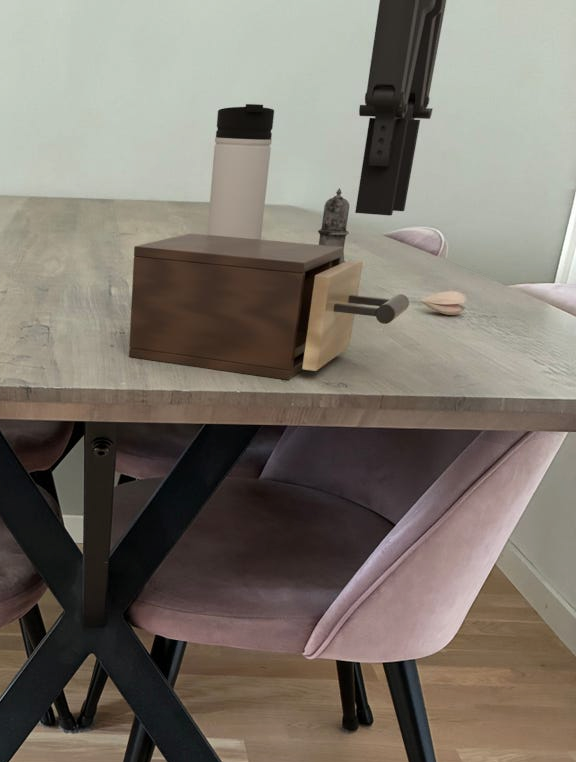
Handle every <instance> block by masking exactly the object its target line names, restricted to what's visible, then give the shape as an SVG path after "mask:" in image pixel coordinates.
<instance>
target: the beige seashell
mask: <svg viewBox="0 0 576 762" xmlns="http://www.w3.org/2000/svg"><path fill="white" fill-rule="evenodd" d="M419 302H420V303H422V304H423V305H425V306H426V307H428V308H429V309H431V310H432V311H435V312H437V313H439V314H442V315H447V316H456V315H460V314H461V313H462V312H464V311H465V309H466V307H465V306H463V305H462V304H463V303H466V302H468V299H467V297H466V295H465V294H464V293H462V292H460V291H456V290H447V291H441V292H437V293H434V294H431V295H428V296H425V297H423V298H421V299H420V300H419Z"/></svg>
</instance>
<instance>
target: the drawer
mask: <svg viewBox="0 0 576 762" xmlns="http://www.w3.org/2000/svg"><path fill="white" fill-rule="evenodd" d="M363 264H364V261H363V260H359V259H348V260H346V261H345V262H344V263H342V264H339V265H337V266H335V267H333V268H332V261H330V262H328V263H326V264H323V265H321V266H319V267H316V268H314V269H311V270H309V271H307V272H304V273H305V280H304V287H303V295H302V302H301V310H300V317H299V325H298V333H297V340H296V348H295V355H294V358H296V357H297V356H299V355H300V354H302V353H303V352H304V359H303V366H302V369H303V370H305V371H312V372H317V371H318V370H319V369H320V370H321V368H322V367H324V366H325V365H326V364H328V363H329V362H330V361H332V360H333V359H335V358H336V357H337V356H338V355H340V354H341V353H343V352H344V351H345V350H347V349H348V348H350V346H351V342H352V341H351V339H352V333H353V328H354V322H355V316H356V315H360V316H368V317H369V316H370V317H375V318H376V320H377V322H378V323H380V324H383V325H388V324H389V323H392V321H395V319H396V318H398V317H399V316H401V315H402V314H403V313H404V312H405V311H407V309H408V308H409V306H410V300H409V298H408V296H407V295H405V294H401V293H399V294H398V293H397V294H396V295H394V296H393V297H392V298H386V297H385V298H383V297H373V296H365V295H359V289H360V285H361V284H360V283H361V277H362V270H363V266H364V265H363ZM373 306H374V307H373Z"/></svg>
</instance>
